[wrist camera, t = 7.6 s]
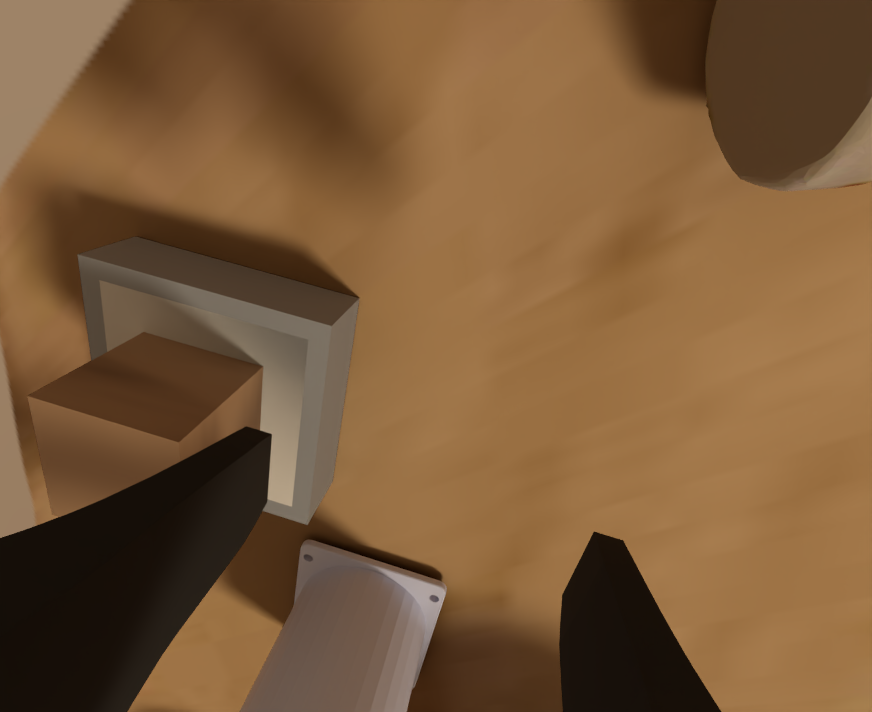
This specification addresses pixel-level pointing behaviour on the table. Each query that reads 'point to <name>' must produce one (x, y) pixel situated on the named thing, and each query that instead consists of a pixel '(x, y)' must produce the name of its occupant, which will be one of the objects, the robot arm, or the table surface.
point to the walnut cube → (137, 416)
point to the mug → (792, 91)
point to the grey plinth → (239, 345)
